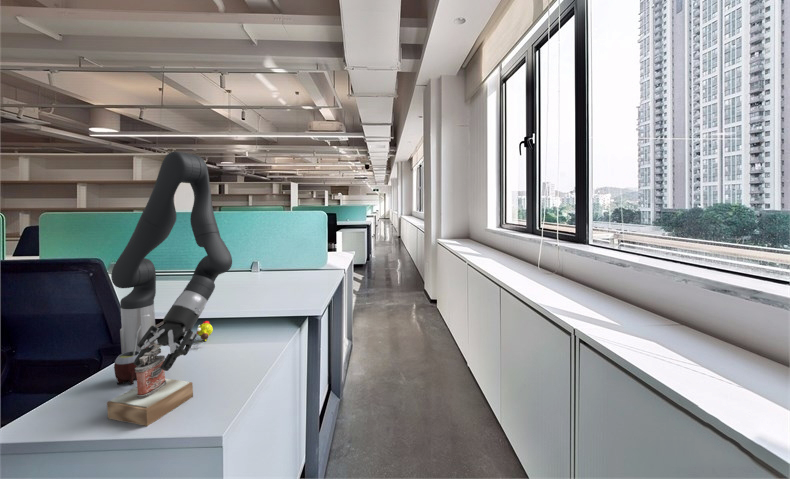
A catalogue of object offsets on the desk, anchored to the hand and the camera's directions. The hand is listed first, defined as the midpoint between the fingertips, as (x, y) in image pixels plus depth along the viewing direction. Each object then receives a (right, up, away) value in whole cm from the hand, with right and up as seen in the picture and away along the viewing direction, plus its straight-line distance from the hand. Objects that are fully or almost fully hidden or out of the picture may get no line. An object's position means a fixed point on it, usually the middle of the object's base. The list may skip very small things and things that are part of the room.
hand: (150, 367), depth 86 cm
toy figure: (-11, -7, +45) cm, 47 cm away
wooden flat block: (0, -10, +1) cm, 10 cm away
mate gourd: (-16, -9, +15) cm, 24 cm away
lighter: (0, -6, 0) cm, 6 cm away
